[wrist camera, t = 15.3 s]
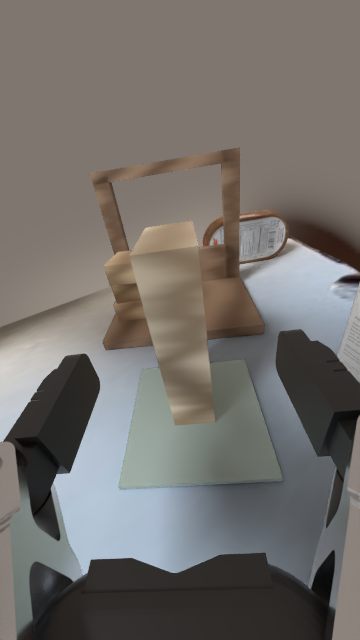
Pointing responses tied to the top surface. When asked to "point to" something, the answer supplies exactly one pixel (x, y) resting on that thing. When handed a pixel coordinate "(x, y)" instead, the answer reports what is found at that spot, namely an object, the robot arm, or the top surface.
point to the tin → (253, 235)
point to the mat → (199, 436)
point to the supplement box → (352, 340)
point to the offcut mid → (126, 292)
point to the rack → (215, 261)
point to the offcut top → (120, 269)
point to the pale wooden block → (176, 317)
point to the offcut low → (129, 310)
